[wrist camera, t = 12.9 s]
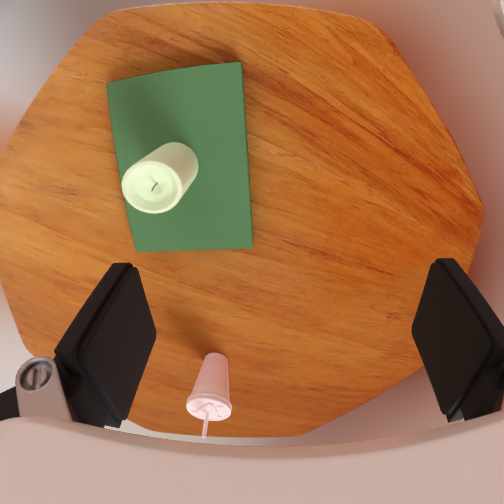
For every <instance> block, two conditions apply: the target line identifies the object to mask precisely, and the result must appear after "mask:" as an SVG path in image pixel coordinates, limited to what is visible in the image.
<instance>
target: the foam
mask: <svg viewBox="0 0 504 504" xmlns="http://www.w3.org/2000/svg"><path fill="white" fill-rule="evenodd" d="M107 92H108V101H109V110H110V118H111V125H112V132H113V139H114V145H115V152H116V158H117V163H118V169H119V175H120V180H121V185H122V179H123V176H124V174H125V173H126V171H127V170H128V169H129V168H130V167H131V166H132V165H133V164H135V163H136V162H138V161H139V160H141V159H142V158H144V157H145V156H147V155H148V154H150V153H151V152H153V151H155V150H156V149H158V148H159V147H161V146H162V145H165V144H167V143H171V142H178V143H182V144H185V145H187V146H188V147H189V148H191V149H192V151H193V152H194V153H195V155H196V157H197V159H198V166H199V167H198V173H197V175H196V178H195V179H194V180H193V182H192V183H191V185H190V186H189V187H188V189H187V190H186V192H185V193H184V195H183V196H182V197H181V199H180V200H179V202H178V203H177V204H176V205H175V206H174V207H173V208H171V209H170V210H168V211H165V212H163V213H156V214H154V213H146V212H142V211H140V210H138V209H136V208H134V207H133V206H132V205H131V204H130V203H128V201H127V200H126V198H125V197H124V200H125V205H126V210H127V214H128V219H129V223H130V228H131V232H132V236H133V240H134V244H135V248H136V252H148V251H179V250H211V249H244V248H253V226H252V209H251V193H250V177H249V161H248V145H247V129H246V113H245V97H244V81H243V66H242V63H241V62H231V63H219V64H210V65H201V66H193V67H186V68H179V69H173V70H167V71H161V72H156V73H150V74H145V75H140V76H135V77H131V78H126V79H122V80H118V81H114V82H110V83H107ZM123 195H124V194H123Z"/></svg>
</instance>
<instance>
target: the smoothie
mask: <svg viewBox="0 0 504 504" xmlns="http://www.w3.org/2000/svg"><path fill="white" fill-rule="evenodd" d="M186 408H187V410H188V412H189V413H191V414H192V415H193V416H195V417H197V418H200V419H203V420H204V425H203V432H202V439H205V438H206V433H207V426H208V421H219V420H223V419H226V418H228V417H229V416H230V414H231V409H232V406H231V403H230V402H229V380H228V360H227V358H226V357H225V356H224V355H222V354H220V353H209V354H207V355H206V356H205V359H204V361H203V364H202V367H201V369H200V372H199V375H198V377H197V380H196V383H195V385H194V388H193V391H192V394H191V396H189V397H188V399H187V404H186Z"/></svg>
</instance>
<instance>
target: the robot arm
mask: <svg viewBox="0 0 504 504" xmlns="http://www.w3.org/2000/svg"><path fill="white" fill-rule="evenodd" d="M412 336H413V339H414V341H415V343H416V346H417V348H418V351H419V353H420V356H421V358H422V361H423V363H424V366H425V368H426V371H427V374H428V376H429V379H430V381H431V384H432V387H433V389H434V392H435V395H436V398H437V401H438V404H439V407H440V410H441V412H442V413H443V414H444V415H445V414H446V417H447V420H448V422H453V421H457V420H461V419H462V418H463V417H464V420H465V421H464V422H460V423H456V424H452V425H448V426H444V427H439V428H435V429H431V430H426V431H421V432H417V433H412V434H407V435H401V436H396V437H389V438H382V439H375V440H369V441H359V442H351V443H340V444H329V445H313V446H287V447H286V446H285V447H284V446H283V447H262V446H261V447H260V446H232V445H215V444H203V443H193V442H184V441H176V440H168V439H161V438H154V437H148V436H143V435H137V434H131V433H125V432H120V431H114V430H110V429H105V428H104V426H105V425H106V426H111V427H115V428H120V425H121V422H122V420H126V419H127V417H128V414H129V411H130V408H131V405H132V403H133V400H134V397H135V394H136V391H137V388H138V386H139V383H140V380H141V377H142V375H143V372H144V369H145V366H146V364H147V361H148V358H149V356H150V353H151V350H152V348H153V345H154V342H155V340H156V328H155V325H154V322H153V319H152V316H151V313H150V309H149V306H148V303H147V299H146V296H145V293H144V289H143V286H142V282H141V278H140V275H139V271H138V269H137V268H136V267H133V265H132V264H131V263H113V264H112V265H111V267H110V268H109V270H108V271H107V272H106V274H105V275H104V276H103V278H102V279H101V281H100V282H99V283H98V285H97V286H96V288H95V289H94V291H93V292H92V293H91V295H90V296H89V298H88V299H87V301H86V302H85V304H84V305H83V307H82V308H81V310H80V311H79V313H78V314H77V316H76V317H75V319H74V320H73V322H72V323H71V325H70V326H69V328H68V329H67V331H66V332H65V334H64V336H63V337H62V339H61V340H60V342H59V344H58V345H57V347H56V348H55V350H54V352H55V354H56V356H55V358H54V359H53V360H52V359H51V358H50V357H47V356H37V357H34V358H31V359H30V360H28V361H26V362H25V363H24V364H23V365H22V366H21V368H20V369H19V370H18V373H17V375H16V382H15V384H16V386H15V387H13V388H11V389H9V390H7V391H5V392H2V393H0V504H504V326H503V325H502V323H501V322H500V320H499V319H498V317H497V316H496V314H495V313H494V312H493V310H492V309H491V307H490V306H489V304H488V303H487V302H486V300H485V299H484V297H483V296H482V294H481V293H480V292H479V290H478V289H477V288H476V286H475V285H474V284H473V283H472V281H471V280H470V279H469V277H468V276H467V274H466V273H465V272H464V271H463V269H462V268H461V267H460V266H459V264H458V263H457V262H456V261H455V260H454V259H453V258H438V259H436V261H435V263H432V264H431V266H430V269H429V273H428V276H427V280H426V283H425V287H424V290H423V293H422V297H421V300H420V303H419V306H418V309H417V312H416V315H415V318H414V321H413V324H412Z"/></svg>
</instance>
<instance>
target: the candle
mask: <svg viewBox="0 0 504 504" xmlns="http://www.w3.org/2000/svg"><path fill="white" fill-rule="evenodd" d="M198 167H199V166H198V159H197V157H196V155H195V153H194V152H193V151H192V149H191V148H189V147H188V146H187V145H185V144H182V143H178V142H171V143H167V144H165V145H162V146H161V147H159V148H158V149H156V150H155V151H153V152H151V153H150V154H148V155H147V156H145V157H144V158H142V159H141V160H139V161H138V162H136V163H135V164H133V165H132V166H131V167H130V168H129V169H128V170H127V171H126V173H125V174H124V176H123V179H122V191H123V194H124V197H125V198H126V200H127V201H128V203H130V204H131V205H132V206H133V207H134V208H136V209H138V210H140V211H142V212H146V213H154V214H156V213H163V212H165V211H168V210H170V209H171V208H173V207H174V206H175V205H176V204H177V203H178V202H179V200H180V199H181V197H182V196H183V195H184V193H185V192H186V190H187V189H188V187H189V186H190V185H191V183H192V182H193V180H194V179H195V178H196V175H197V173H198Z"/></svg>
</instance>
